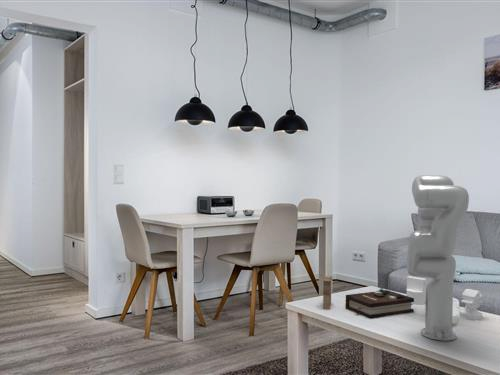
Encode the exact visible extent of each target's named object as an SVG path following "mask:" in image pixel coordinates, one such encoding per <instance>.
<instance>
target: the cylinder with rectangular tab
mask: <svg viewBox="0 0 500 375" xmlns="http://www.w3.org/2000/svg"><path fill="white" fill-rule="evenodd" d="M426 287H427V278H424V277H417V276H412V275H407V276H406V296H408V297H411V298H414V302H411V304H413V305H419V306H421V305H426Z"/></svg>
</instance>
